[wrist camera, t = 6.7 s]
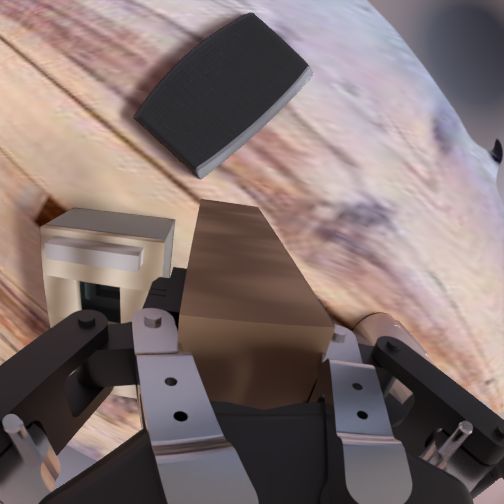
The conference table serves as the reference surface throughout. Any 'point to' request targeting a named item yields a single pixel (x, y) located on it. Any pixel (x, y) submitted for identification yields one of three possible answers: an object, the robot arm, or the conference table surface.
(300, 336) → the brown block
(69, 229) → the lid
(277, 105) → the external hard drive
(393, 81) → the conference table surface
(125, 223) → the toolbox
